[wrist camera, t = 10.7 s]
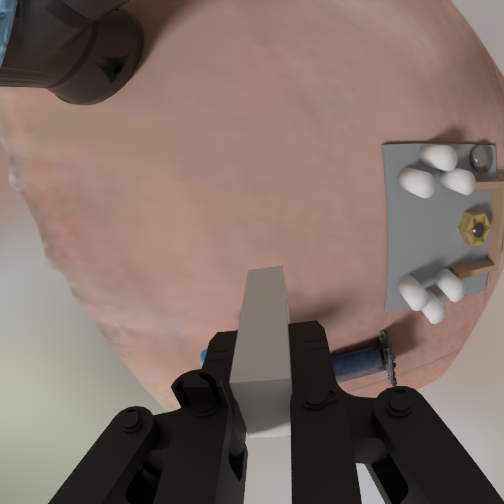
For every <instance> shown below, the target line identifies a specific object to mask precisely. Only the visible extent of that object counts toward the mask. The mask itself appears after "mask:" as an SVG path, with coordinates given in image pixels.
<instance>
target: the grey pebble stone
mask: <svg viewBox="0 0 504 504" xmlns="http://www.w3.org/2000/svg"><path fill="white" fill-rule="evenodd" d="M469 159H470V164H471V166H472V168H473V169H474V170H475V171H477V172H480V173H487V172H488V171H489V170H490V169H491V166H492V154H491V152H490V150H489V148H488V147H486V146H484V145H475V146H473V147H472V149H471V151H470V156H469Z"/></svg>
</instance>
